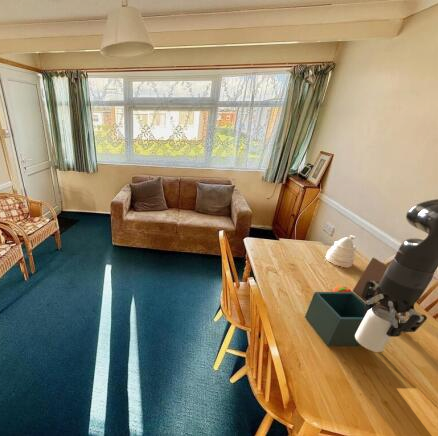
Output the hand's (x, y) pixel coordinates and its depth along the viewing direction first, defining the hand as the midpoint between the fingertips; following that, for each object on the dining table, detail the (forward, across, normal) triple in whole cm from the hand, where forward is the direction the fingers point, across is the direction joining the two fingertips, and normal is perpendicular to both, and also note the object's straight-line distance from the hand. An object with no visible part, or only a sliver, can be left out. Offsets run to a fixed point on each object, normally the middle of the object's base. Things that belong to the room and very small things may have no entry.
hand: (378, 324), depth 65 cm
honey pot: (+28, +68, -51) cm, 90 cm away
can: (+8, 0, 0) cm, 8 cm away
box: (+27, +20, -12) cm, 36 cm away
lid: (+4, +20, -20) cm, 29 cm away
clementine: (+28, +38, -28) cm, 55 cm away
